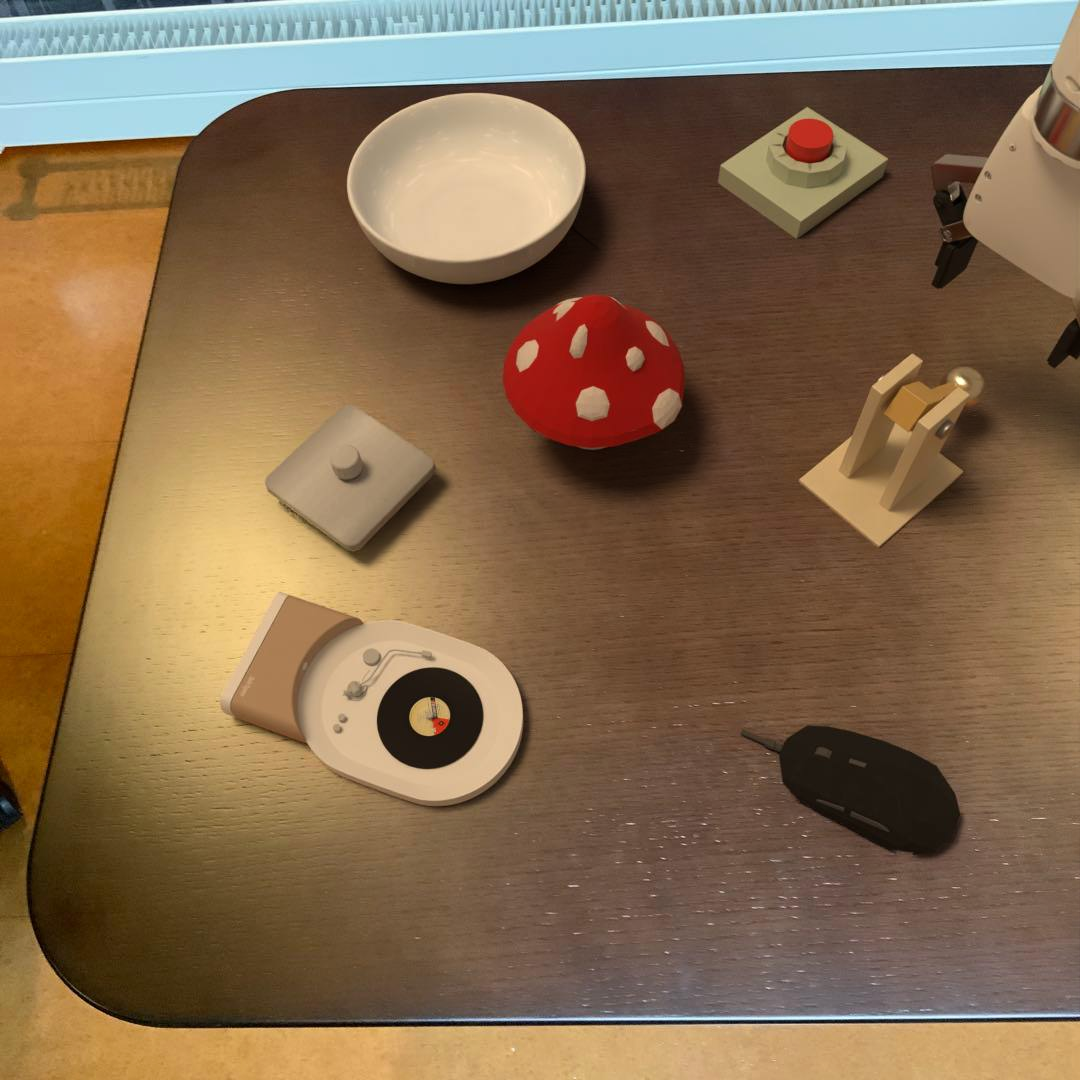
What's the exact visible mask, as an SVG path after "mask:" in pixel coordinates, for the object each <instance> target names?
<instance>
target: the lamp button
mask: <svg viewBox="0 0 1080 1080" xmlns="http://www.w3.org/2000/svg"><path fill="white" fill-rule="evenodd" d="M832 140H833V130H832V129H831V127H830V126H829V125H828V124H826V123H825V122H823V121H821V120H817V119H811V118H807V119H801V120H798V121H796V122H794V123H793V124H792V125H791V127H790V128H789V132H788V137H787V141H786V147H785V148H786V152H787V154H788V155H789V156H790V157H791V158H793V159H794V160H796V161H799V162H804V163H809V164H811V163H817V162H820V161H822V160H824V159H825V158H826V157H827V156H828V155H829V152H830V148H831V144H832Z"/></svg>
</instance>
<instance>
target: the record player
mask: <svg viewBox="0 0 1080 1080" xmlns="http://www.w3.org/2000/svg"><path fill="white" fill-rule="evenodd" d="M521 696H522V695H521V693H520V690H519V687H518V685H517V681H515V678H514V677H513V675H512V673H511V672H510V670H509V669H508V668H507V666H505V664H504V663H503V662H502V661H501V660H500V659H499V658H497V656H495V655H494V654H493V653H492V652H490V651H488V650H487V649H485V648H483V647H480V646H478V645H475V644H473V643H470V642H468V641H465V640H462V639H459V638H456V637H453V636H451V635H448V634H445V633H442V632H439V631H435V630H433V629H429V628H427V627H423V626H420V625H417V624H413V623H410V622H406V621H402V620H397V619H382V620H381V619H380V620H372V621H368V622H363V621H362V620H361V619H360V618H358V617H356V616H353V615H350V614H348V613H345V612H341V611H338V610H336V609H332V608H330V607H327V606H324V605H320V604H317V603H315V602H311V601H309V600H306V599H303V598H300V597H297V596H294V595H291V594H289V593H285V592H282V591H279V592H277V593H276V594H275V595H274V597H273V599H272V600H271V602H270V605H269V606H268V608H267V610H266V612H265V613H264V616H263V618H262V619H261V621H260V622H259V624H258V626H257V628H256V629H255V632H254V634H253V636H252V637H251V640H250V641H249V643H248V645H247V647H246V649H245V650H244V652H243V654H242V656H241V658H240V660H239V661H238V664H237V665H236V667H235V669H234V670H233V672H232V674H231V676H230V678H229V680H228V682H227V684H226V686H225V687H224V689H223V691H222V693H221V694H220V698H219V706H220V709H221V711H222V712H223V714H225V715H228V716H230V717H233V718H236V719H238V720H241V721H244V722H247V723H249V724H251V725H255V726H258V727H260V728H263V729H266V730H268V731H271V732H274V733H277V734H280V735H283V736H285V737H288V738H290V739H293V740H296V741H299V742H301V743H304V744H307V745H308V747H309V748H310V750H311V751H312V753H313V754H314V756H315V757H316V758H317V760H318V761H319V762H320V763H321V764H322V765H324V767H326V768H327V769H328V770H329V771H331V772H333V773H335V774H336V775H338V776H341V777H343V778H344V779H347V780H350V781H352V782H355V783H357V784H359V785H362V786H365V787H368V788H370V789H373V790H376V791H379V792H381V793H383V794H388V795H390V796H392V797H395V798H398V799H401V800H403V801H407V802H410V803H414V804H417V805H421V806H426V807H444V806H445V807H446V806H452V805H457V804H460V803H463V802H466V801H469V800H472V799H474V798H475V797H477V796H479V795H480V794H482V793H484V792H486V791H487V790H489V788H491V787H492V786H493V785H495V784H497V782H498V781H499V780H500V779H501V778H502V777H503V775H504V774H505V773H506V772H507V770H508V769H509V768H510V766H511V765H512V763H513V761H514V760H515V758H516V756H517V753H518V751H519V748H520V745H521V741H522V737H523V730H524V711H523V702H522V701H523V700H522V697H521Z"/></svg>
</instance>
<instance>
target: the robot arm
mask: <svg viewBox="0 0 1080 1080" xmlns="http://www.w3.org/2000/svg"><path fill="white" fill-rule="evenodd" d="M1044 79H1045V80H1044V82H1043V84H1041V85H1040V86H1039V87H1038V88H1037V89H1035V90H1034V91H1033V93H1031V94H1030V95H1029V96H1028V97H1027V98H1026V100H1025V101H1024V103H1022V105H1021V106H1020V107H1019V109H1018V110H1017V112H1016V113H1015V115H1014V116H1013V118H1012V119H1011V121H1010V122H1009V124H1008V125H1007V126H1006V128H1005V130H1004V131H1003V132H1002V135H1001V136H1000V138H999V139H998V140H997V142H996V145H995V146H994V148H993V149H992V151H991V153H990V154H989V156H988V157H987V156H978V155H977V156H976V155H962V154H951V153H947V154H946V153H945V154H944V155H942V156H941V157H940V158H938V159H937V160H936V161H934V163H932V164H931V167H930V172H931V178H932V180H931V181H932V186H933V190H934V193H935V194H934V196H933V198H932V203H933V206H934V208H935V210H936V213H937V216H938V218H939V221H940V222H941V227H940V229H939V230H938V233H939V238H940V239H941V240H942V243H941V245H940V248H939V251H938V253H937V256H936V259H935V262H934V266H936V267H937V269H936V272H935V274H934V276H933V279H932V282H931V286H932V287H934V288H935V289H936V290H939V289H940V290H942V289H944V288H945V287H946V286H947V285H949V284H950V283H951V282H952V281H954V279H956V278H957V277H959V275H961V274H962V273H963V272H964V271H966V269H967V267H968V266H969V263H970V261H971V259H972V256H973V255H974V252H975V250H976V248H977V245H978V242H980V243H981V244H983V245H984V246H986V247H987V248H988V249H990V250H991V251H993V252H994V253H996V254H997V255H999V256H1001V257H1002V258H1004V259H1005V260H1007V261H1008V262H1009V263H1011V264H1012V265H1014V266H1016V267H1018V268H1019V269H1021V270H1022V271H1023V272H1025V273H1027V274H1028V275H1030V276H1031V277H1032V278H1035V279H1036V280H1038V281H1039V282H1041V283H1043V284H1044V285H1045V286H1047V287H1049V288H1051V289H1052V290H1054V291H1056V292H1057V293H1058V294H1060V295H1063V296H1065V297H1068V298H1070V301H1071V303H1072V307H1073V310H1074V314H1075V318H1074V319H1073V320H1072V321H1070V323H1068V324H1067V326H1066V327H1065V328H1064V330H1063V332H1062V334H1061V335H1060V337H1059V339H1058V340H1057V342H1056V344H1055V345H1054V347H1053V348H1052V350H1051V352H1050V354H1049V355H1048V357H1047V359H1046V362H1047V365H1048V366H1050V367H1051V368H1052V369H1056V368H1057V367H1058V366H1059V365H1060V364H1062V363H1063V362H1064V361H1065V360H1066V359H1067V358H1069V357H1071V358H1072V359H1075V360H1078V359H1079V358H1080V0H1078V3H1077V5H1076V8H1075V10H1074V12H1073V14H1072V17H1071V19H1070V21H1069V23H1068V26H1067V28H1066V30H1065V34H1064V35H1063V38H1062V40H1061V42H1060V44H1059V47H1058V49H1057V52H1056V54H1055V56H1054V59H1053V61H1052V63H1051V65H1050V67H1049V70H1048V72H1047V75H1046V77H1045V78H1044ZM961 183H965V184H974V185H973V187H972V190H971V191H970V193H969V196H968V199H967V196H966V194H965V191H964V189H963V186H962V185H961Z"/></svg>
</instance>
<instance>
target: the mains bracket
mask: <svg viewBox="0 0 1080 1080" xmlns="http://www.w3.org/2000/svg"><path fill="white" fill-rule="evenodd" d="M923 363H924V361H923V359H921V358H920V357H919V356H917V355H916V354H915V353H911V354H910V355H908V356H907V357H906V358H904V359H903V360H902V361H901V362H899V363H898V364H897V365H895V366H894V367H893V368H892V369H891V370H890V371H888V372H887V373H884V374H882V375H881V376H880V377H879V378H878V379H877V380H876V382H875V383H874V384H872V386H871V387H870V389H869V391H868V392H869V393H868V394H867V395H868V396H867V398H866V400H865V402H864V405H863V408H862V410H861V413H860V415H859V418H858V420H857V423H856V425H855V428H854V431H853V433H852V435H851V436H849V438H847V439H846V440H845V441H844V442H842V443H841V444H840V445H839V446H838V447H836V448H835V449H834V450H833V451H832V452H830V453H829V454H828V455H827V456H826V457H824V458H823V459H822V460H821V461H820V462H819V463H817V464H816V465H815V466H814V467H812V468H811V469H810V470H809V471H807V473H805V474H804V475H803V476H801V477H800V478H799V479H798V483H799V484H800V485H801V486H803V487H804V488H805V489H806V490H807V491H809V492H810V493H811V494H812V495H814V497H816V498H817V499H818V500H820V501H821V502H822V503H823V504H825V505H826V507H828V508H829V509H831V510H832V511H833V512H834V513H835V514H836V515H838V516H839V517H840V518H841V519H843V520H844V521H845V522H846V523H847V524H848V525H850V526H851V527H852V528H853V529H854V530H855V531H857V532H858V533H859V534H861V535H862V536H863V537H864V538H865V539H867V540H868V541H869V542H870V543H872V544H873V545H874V546H875V547H877V548H878V549H880V548H881V547H882V546H883V545H884V544H885V543H886V542H887V541H888V540H890V539H891V538H892V537H893V536H894V535H896V533H898V532H899V531H900V530H901V529H902V528H904V527H905V526H906V525H907V524H908V523H909V522H910V521H911V520H912V519H913V518H915V517H916V516H917V515H918V514H919V513H920V512H921V511H922V510H924V509H925V508H926V507H927V506H928V505H929V504H930V503H932V502H933V501H934V500H935V499H936V498H937V497H938V496H939V495H940V494H942V493H943V492H944V491H945V490H946V489H947V488H948V487H949V486H950V485H952V484H953V483H954V482H955V481H956V480H957V479H959V478H960V476H962V475H963V473H964V470H963V469H962V468H960V467H958V466H957V465H956V464H955V463H953V462H952V461H951V460H950V459H948V458H947V457H945V455H943V454H941V450H942V448H943V447H944V445H945V443H946V441H947V439H948V437H949V436H950V434H951V432H952V431H953V429H954V428H955V425H956V422H957V421H958V419H959V417H960V415H961V413H962V411H963V410H964V409H963V407H964V405H965V404H966V402H967V400H968V398H969V396H970V395H969V394H968V393H967V392H965V391H964V390H963V389H961V388H960V387H958V388H956V389H955V390H954V391H953V392H952V393H950V394H949V395H948V396H947V397H946V398H945V399H943V400H942V401H941V402H940V403H939V404H937V405H936V406H935V407H934V408H933V409H932V410H930V411H929V412H928V413H927V414H926V415H924V416H923V417H922V418H921V419H920V420H919V421H918V422H917V424H916V426H915V428H914V430H912V431H910V432H907V431H906V430H904V429H903V428H902V427H901V426H899V425H898V424H897V423H895V422H894V421H893V420H891V419H890V418H889V417H887V416H886V415H885V414H884V412H885V411H886V409H887V408H888V406H889V405H890V403H891V402H892V400H893V399H894V398H895V396H896V395H897V393H898V392H899V390H900V389H901V388H902V386H905V385H908V384H911V383H914V382H916V381H915V380H916V379H917V376H918V374H919V371H920V370H921V367H922V365H923Z"/></svg>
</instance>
